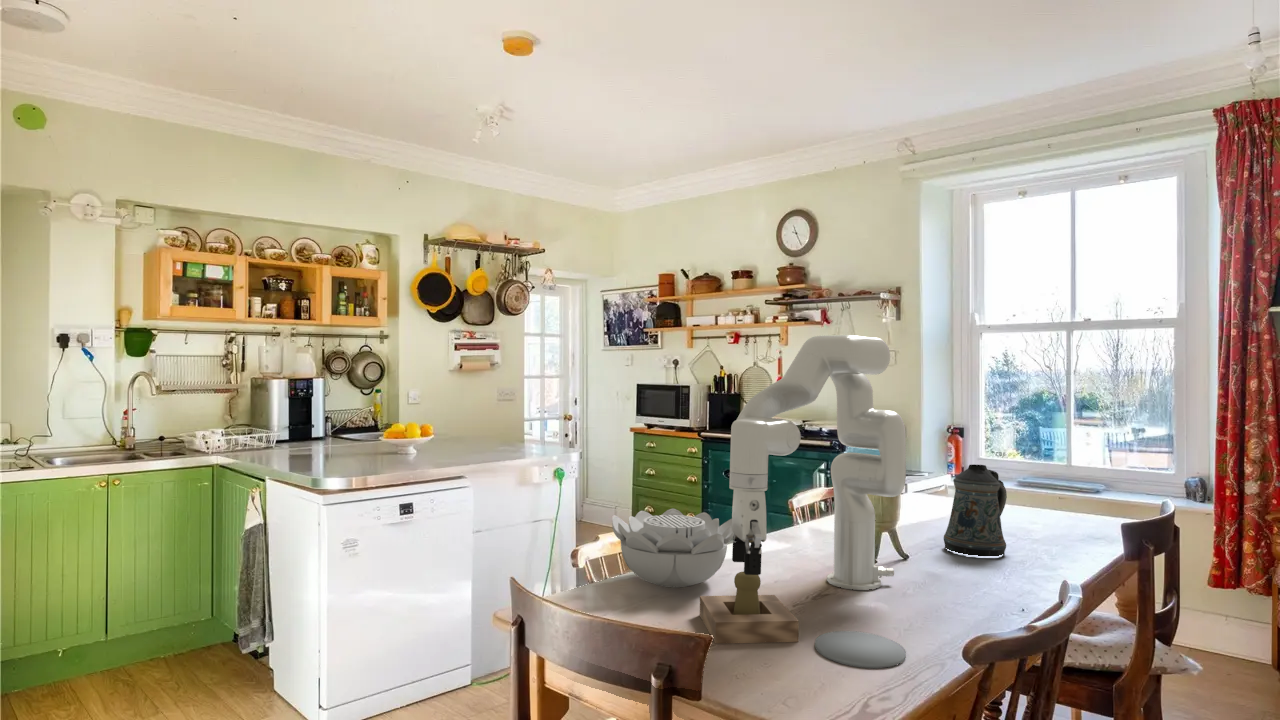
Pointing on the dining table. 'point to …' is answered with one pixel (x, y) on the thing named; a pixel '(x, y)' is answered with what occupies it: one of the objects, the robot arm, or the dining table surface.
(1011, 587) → the dining table surface
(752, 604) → the cork
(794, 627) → the walnut holder
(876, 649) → the slate mat
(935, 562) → the dining table surface
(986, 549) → the beer stein
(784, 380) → the robot arm
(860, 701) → the dining table surface
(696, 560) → the decorative bowl
